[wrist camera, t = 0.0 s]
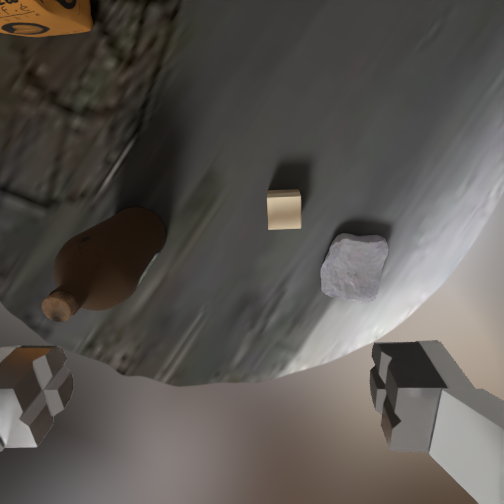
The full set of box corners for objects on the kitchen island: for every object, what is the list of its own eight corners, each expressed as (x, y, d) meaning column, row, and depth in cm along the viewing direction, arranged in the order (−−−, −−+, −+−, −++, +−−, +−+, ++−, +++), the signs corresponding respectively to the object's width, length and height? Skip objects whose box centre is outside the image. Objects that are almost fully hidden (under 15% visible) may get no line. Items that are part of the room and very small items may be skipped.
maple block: (267, 190, 56) (267, 197, 51) (298, 189, 55) (300, 196, 51) (268, 220, 57) (268, 229, 53) (298, 218, 57) (300, 228, 52)
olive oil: (97, 223, 59) (-15, 294, 36) (144, 191, 57) (55, 246, 34) (136, 270, 62) (56, 364, 39) (182, 242, 60) (125, 324, 37)
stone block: (317, 286, 64) (373, 297, 62) (315, 297, 59) (375, 309, 57) (328, 225, 60) (388, 234, 58) (327, 232, 55) (392, 243, 53)
